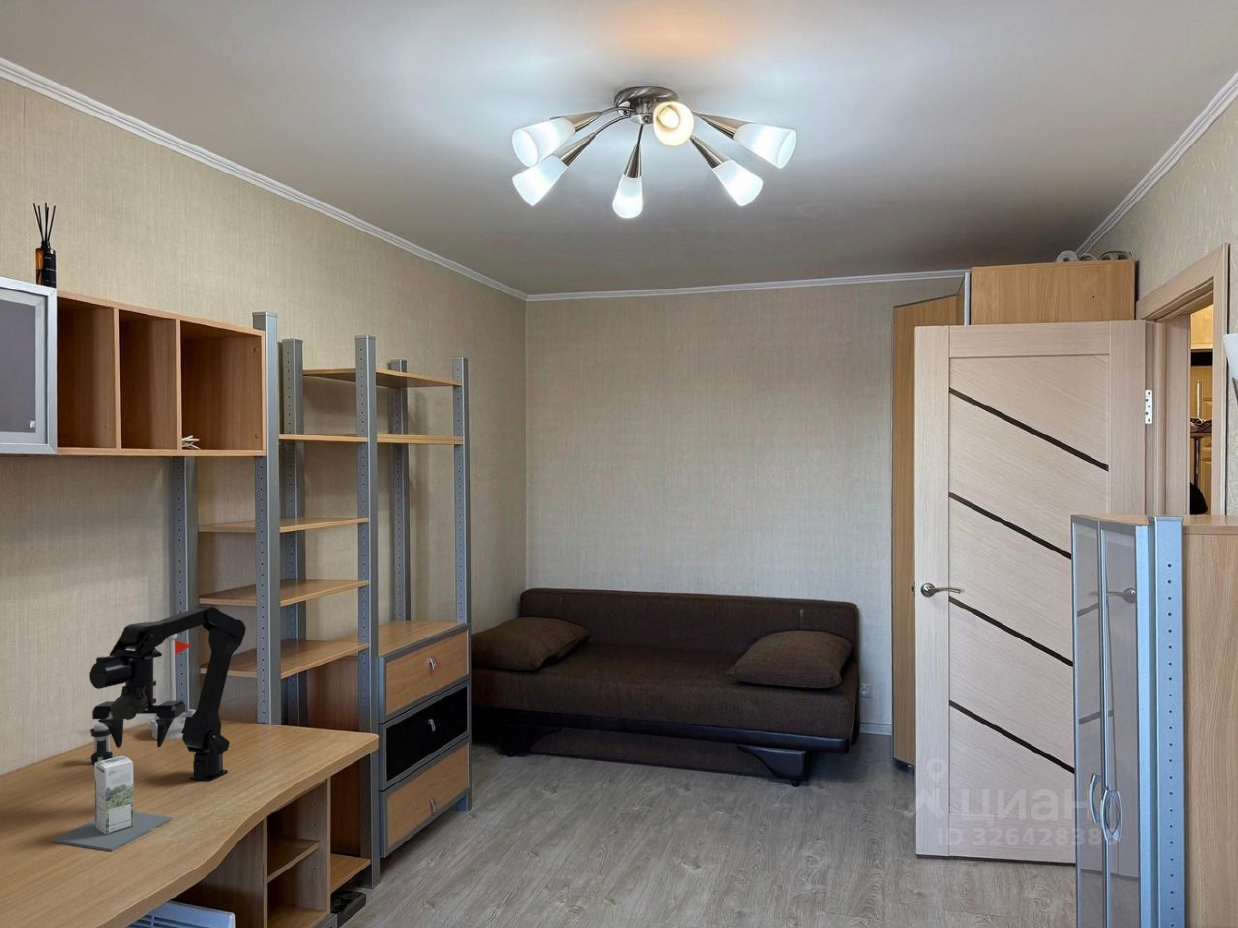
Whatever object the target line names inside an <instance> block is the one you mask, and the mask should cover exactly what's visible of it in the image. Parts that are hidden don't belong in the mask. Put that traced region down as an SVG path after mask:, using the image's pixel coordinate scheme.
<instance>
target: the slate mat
mask: <svg viewBox="0 0 1238 928" xmlns="http://www.w3.org/2000/svg"><path fill="white" fill-rule="evenodd" d="M133 814H134V815H133V817H134V825H133V826H132V827H129V828H126V829H123V830H120V831H116V832H113V833H110V834H107V835H106V834H104V833H103V832H101V831H99V830H98V829H96V828H95V819H92V820H91V821H89V822H86V823H84V824H82V825H80V826H78V827H75V828H73V829H72V830H69V831H66V832H65V833H63V834H60V835H59V836H56V837H54V838H52V839H51V843H57V844H64V845H68V846H76V847H82V848H88V849H89V848H90V849H94V848H95V849H96V850H102V851H108V852H113V851H116V850H117V849H119V848H121V847H123V846H125V845H127V844H129V843H131V842H133V841H134V839H135V840H136V838H137V839H139V838H140V837H142V836H144V835H146V834H148V833H149V832H148V831H150V830H151V829H153V828H155V827H157V826H160V825H162V824H164V823H166V822H167V821H169V820H171V819H173V820H174V818H173V817H171V816H165V815H157V814H151V813H150V814H149V813H142V812H136V811H133ZM171 821H172V820H171ZM169 822H170V821H169ZM166 824H167V823H166ZM164 825H165V824H164ZM162 826H163V825H162ZM160 827H161V826H160ZM147 832H148V833H147ZM150 832H151V831H150ZM145 833H146V834H145ZM138 837H139V838H138ZM132 840H133V841H132ZM130 841H131V842H130ZM128 842H129V843H128ZM126 843H127V844H126ZM124 844H125V845H124ZM122 845H123V846H122ZM120 846H121V847H120ZM118 847H119V848H118ZM95 849H94V850H95Z"/></svg>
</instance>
